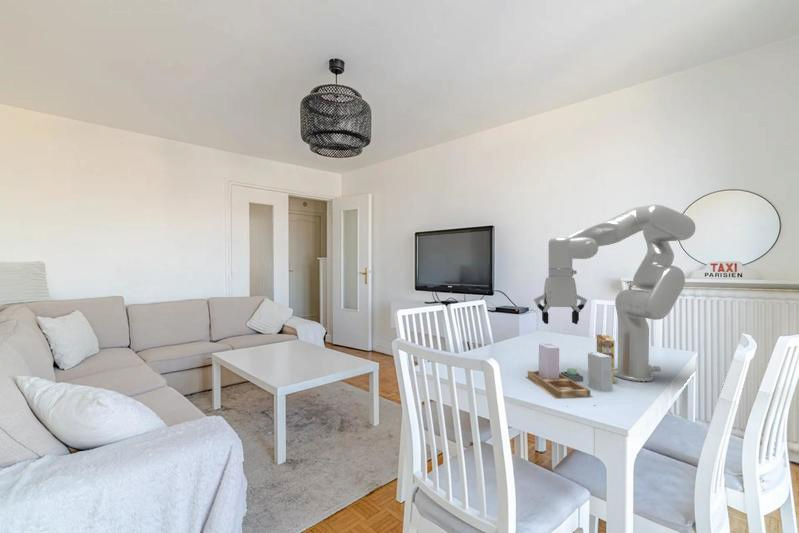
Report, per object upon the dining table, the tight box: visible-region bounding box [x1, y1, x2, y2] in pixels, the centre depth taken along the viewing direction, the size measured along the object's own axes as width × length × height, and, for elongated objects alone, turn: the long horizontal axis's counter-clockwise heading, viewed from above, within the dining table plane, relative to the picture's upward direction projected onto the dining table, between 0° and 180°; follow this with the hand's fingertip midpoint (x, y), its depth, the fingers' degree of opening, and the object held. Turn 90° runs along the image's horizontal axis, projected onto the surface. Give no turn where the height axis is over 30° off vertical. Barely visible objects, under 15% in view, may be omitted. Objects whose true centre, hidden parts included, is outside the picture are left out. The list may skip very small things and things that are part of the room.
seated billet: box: [538, 343, 560, 379], centre depth 124 cm, size 4×6×12 cm, turn 6°
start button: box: [566, 368, 578, 376], centre depth 126 cm, size 3×3×2 cm
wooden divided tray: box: [525, 370, 594, 400], centre depth 119 cm, size 12×20×3 cm, turn 6°
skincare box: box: [587, 351, 613, 393], centre depth 117 cm, size 6×4×12 cm
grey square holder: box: [560, 371, 584, 383], centre depth 126 cm, size 5×5×3 cm
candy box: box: [596, 334, 615, 385], centre depth 128 cm, size 9×4×15 cm, turn 162°
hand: (560, 323), depth 126 cm, fingers open, 9 cm apart
